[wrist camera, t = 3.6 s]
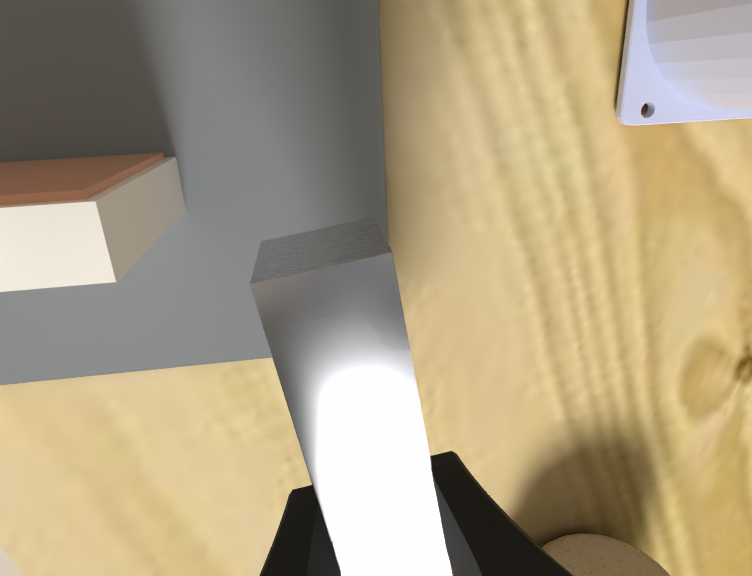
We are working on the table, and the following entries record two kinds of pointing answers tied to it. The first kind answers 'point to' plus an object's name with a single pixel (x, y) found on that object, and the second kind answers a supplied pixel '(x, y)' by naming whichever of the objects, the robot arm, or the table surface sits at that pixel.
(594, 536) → the ceramic mug
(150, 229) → the tile
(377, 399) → the bar
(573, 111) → the table surface
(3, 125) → the mat
